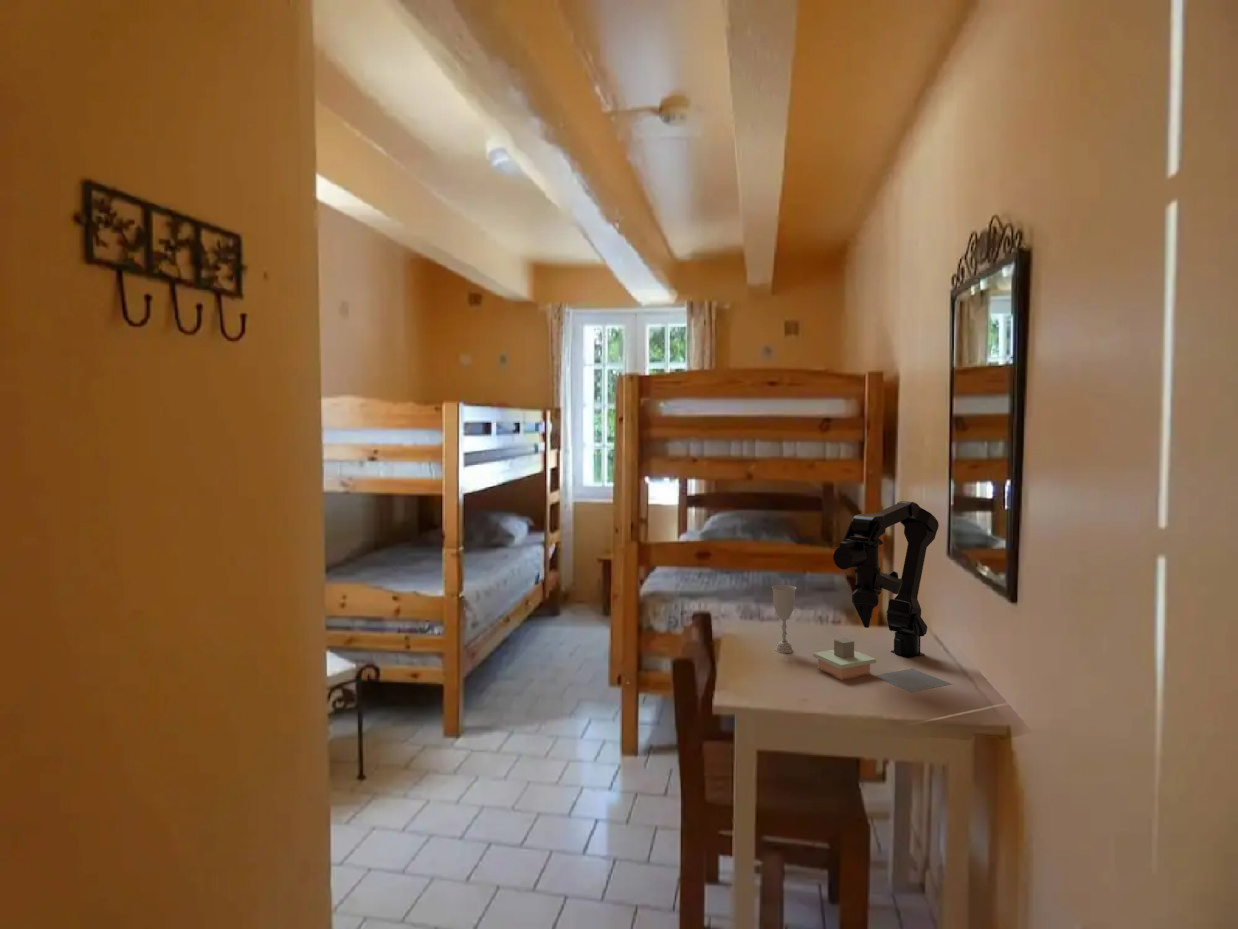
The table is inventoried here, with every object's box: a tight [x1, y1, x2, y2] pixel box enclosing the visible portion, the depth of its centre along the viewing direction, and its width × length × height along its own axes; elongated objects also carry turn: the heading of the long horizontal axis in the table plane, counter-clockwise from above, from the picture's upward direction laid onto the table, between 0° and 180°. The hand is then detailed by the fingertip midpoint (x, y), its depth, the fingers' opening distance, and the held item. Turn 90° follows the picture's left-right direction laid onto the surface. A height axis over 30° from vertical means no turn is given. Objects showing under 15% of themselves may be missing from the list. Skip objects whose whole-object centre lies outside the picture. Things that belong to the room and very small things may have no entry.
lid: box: [812, 637, 877, 669], centre depth 194 cm, size 11×11×5 cm
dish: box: [817, 659, 871, 681], centre depth 194 cm, size 9×9×4 cm
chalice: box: [771, 584, 797, 654], centre depth 214 cm, size 7×7×18 cm
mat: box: [872, 668, 952, 693], centre depth 188 cm, size 13×13×1 cm
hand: (868, 622), depth 198 cm, fingers open, 9 cm apart
